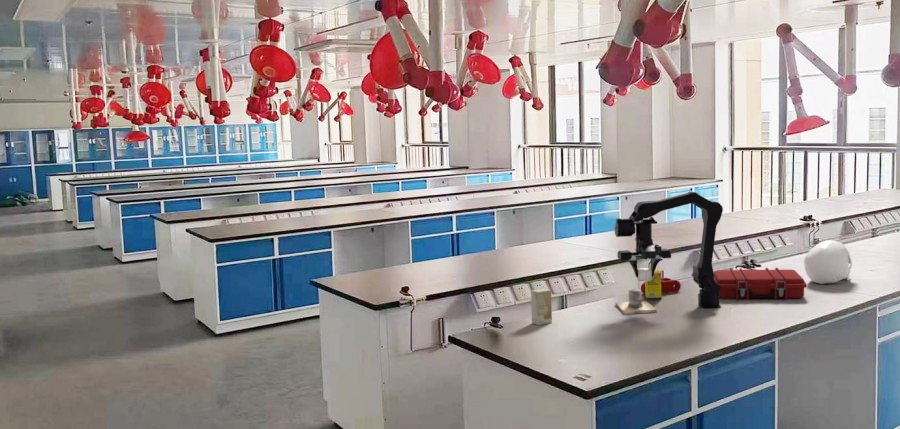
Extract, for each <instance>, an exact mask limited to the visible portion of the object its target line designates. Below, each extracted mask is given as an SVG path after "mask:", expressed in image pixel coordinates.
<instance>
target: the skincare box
mask: <svg viewBox="0 0 900 429" xmlns="http://www.w3.org/2000/svg"><path fill="white" fill-rule="evenodd" d="M530 300H531V302H530V303H531V304H530V305H531V306H530V308H531V323H532V324H534V325H537V326H540V325H541V326H542V325H547V324H551V323H552V322H553V318H552V317H553V316H552V315H553V312H552V289H549V288H536V289H533V290H530Z"/></svg>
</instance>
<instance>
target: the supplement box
mask: <svg viewBox="0 0 900 429" xmlns="http://www.w3.org/2000/svg"><path fill="white" fill-rule="evenodd" d="M661 278H662V273H661V270H660V269H655V272H654V274H653V277H652V280H651V281H644V282H645V299H646V301H647V300H648V301H649V300H654V301H655V300H662V293H661Z"/></svg>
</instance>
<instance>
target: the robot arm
mask: <svg viewBox="0 0 900 429" xmlns="http://www.w3.org/2000/svg"><path fill="white" fill-rule="evenodd" d="M690 204H693V205H694V206H695V207H697V208H699V209H700V211H701V218H702V223H703V227H702V235H701V236H702V237H701V242H700V243H701V244H700V251H699V259H698V263H697V264H696V265H693V266H692V273H691V276H692V280H693V282H694V283H696V284H697V285H698V287H699V293H698V294H697V297H698V301H697V302H698V303H697V304H698V305H699V306H700V307H701V308H703V309H710V308H711V309H713V308H714V309H715V308H722V305H721V304H720V297H719V291H720V288H721V286H720V285H718V284H717V283H716V282H715V281H714V272H715V271H714V269H713V263H712V262H713V256H714V255H713V254H714V247H715V239H716V231H717V226H718V224H719V223H720V220H721V218H722V215H723V212H724V208H723V206H722V204H721V203H720V202H717V201H714V200H711V199H708V198H705V197H704V196H702V195H700V194H699V193H697V192H695V191H688V192H686V193H682V194H679V195H674V196H670V197H667V198H664V199H660V200H659V199H658V200H645V201H638V202H636V204H635V205H634V208H633V212H631V214H630V215H629V217H628V218H616V219H615V224H614V236H615V237H616V238H622V237H633V235H635V239H634V240H635V252H633V251H632V252H631V251H630V250H626V249H625V250H618V252H617V258H618V260H620V261H628V262H629V264H630V265H631V268H632V270H633V272H634V275H635V278H638V269H639V268H638V259H637V258H643V259H644V260H647V259H650V269H652V277H653V274H654V272H655V270H657V269H656V268H657V266H658V264H659V263H660V262H661V261H663V260H664V259H671V258H672V252H671V250H669V249H667V248H662V245H661V244H660V243H659V244H654V241H653V240H654V239H653V233H652V229H653V227H652V226H653V225H656V224H658V221H657V220H656V219H654V216H656V215H658V214H660V213H661V212H664V211H667V210H670V209H671V210H672V209H674V208H679V207H683V206H686V205H690Z"/></svg>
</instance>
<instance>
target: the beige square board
mask: <svg viewBox="0 0 900 429" xmlns="http://www.w3.org/2000/svg"><path fill="white" fill-rule="evenodd" d="M615 306H616V307H617V308H618V310H620V312H621V313H623V314H624V315H631V314H632V315H633V314H635V315H636V314H647V313H648V314H649V313H650V314H651V313H657V311H658V310H657V308H655V307H654V306H653V305H652V304H650V302H648V301H647V300H643V298H642V292H641V289H640V288H639V289H636V288H633V289H629V290H628V301H625V302H624V301H623V302H615Z"/></svg>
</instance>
